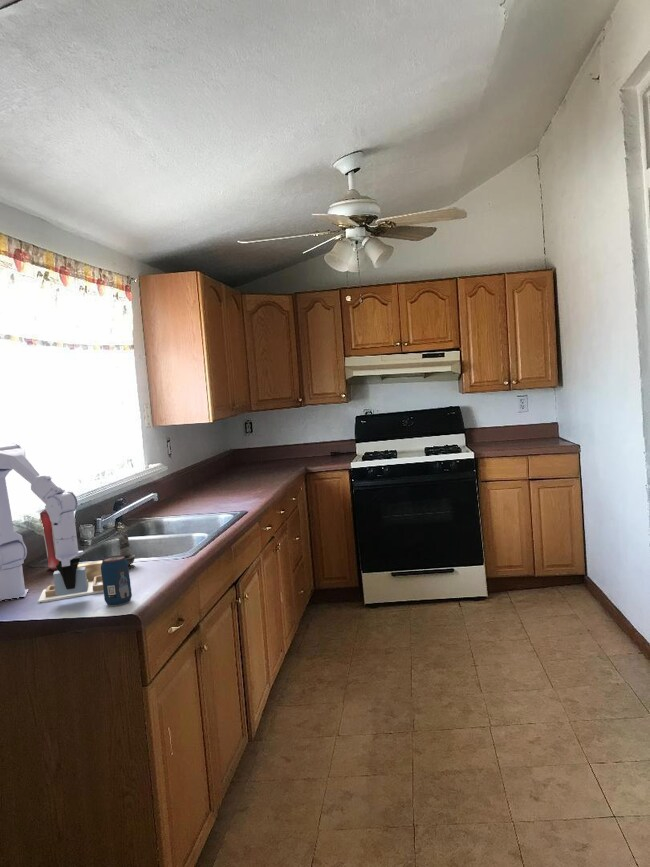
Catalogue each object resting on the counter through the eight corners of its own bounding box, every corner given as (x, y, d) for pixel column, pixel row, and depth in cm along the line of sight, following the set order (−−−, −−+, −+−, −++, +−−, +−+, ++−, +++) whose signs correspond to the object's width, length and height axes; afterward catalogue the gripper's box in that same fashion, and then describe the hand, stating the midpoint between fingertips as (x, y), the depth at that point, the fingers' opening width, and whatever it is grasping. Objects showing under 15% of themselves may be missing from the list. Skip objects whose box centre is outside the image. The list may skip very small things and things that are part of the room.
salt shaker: (129, 564, 231) (125, 528, 230) (140, 566, 227) (135, 529, 226) (113, 569, 226) (109, 532, 225) (124, 571, 222) (120, 533, 222)
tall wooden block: (77, 583, 213) (75, 567, 213) (77, 580, 217) (76, 564, 216) (108, 578, 216) (106, 562, 215) (108, 575, 219) (106, 559, 219)
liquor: (56, 565, 241) (46, 483, 239) (75, 564, 239) (64, 482, 237) (42, 571, 234) (31, 487, 232) (61, 570, 232) (50, 485, 230)
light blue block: (55, 596, 190) (53, 574, 190) (57, 592, 194) (54, 571, 193) (87, 591, 192) (84, 569, 192) (87, 588, 196) (85, 566, 195)
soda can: (112, 599, 191) (107, 555, 191) (136, 598, 190) (131, 554, 190) (100, 607, 185) (94, 562, 184) (125, 606, 183) (120, 560, 183)
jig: (38, 603, 195) (37, 595, 195) (43, 591, 207) (42, 584, 207) (117, 590, 201) (116, 582, 200) (118, 579, 213) (117, 572, 213)
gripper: (79, 540, 186) (85, 591, 187) (82, 530, 200) (88, 577, 201) (50, 544, 184) (56, 595, 185) (56, 534, 198) (61, 581, 199)
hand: (71, 586), depth 193 cm, fingers closed on light blue block, 3 cm apart
